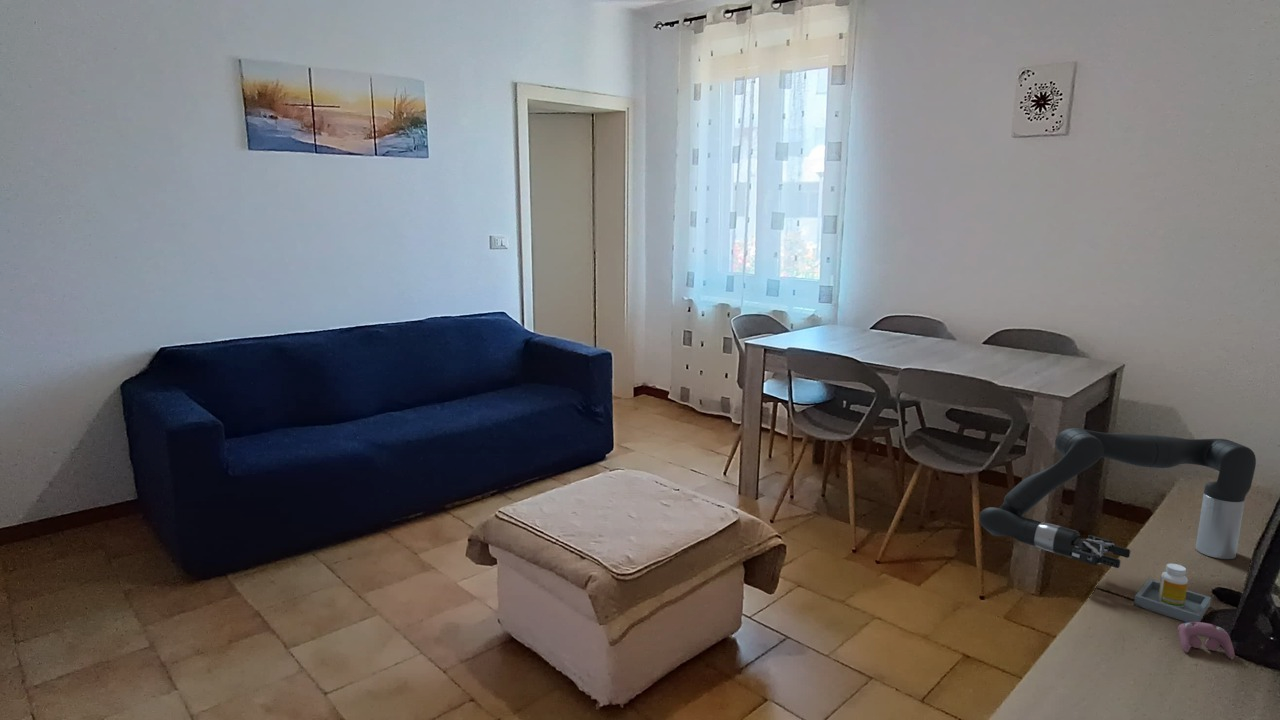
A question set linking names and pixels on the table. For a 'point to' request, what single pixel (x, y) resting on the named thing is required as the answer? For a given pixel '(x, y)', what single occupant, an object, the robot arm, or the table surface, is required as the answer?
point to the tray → (1189, 613)
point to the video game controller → (1215, 634)
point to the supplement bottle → (1173, 586)
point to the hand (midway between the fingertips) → (1124, 558)
